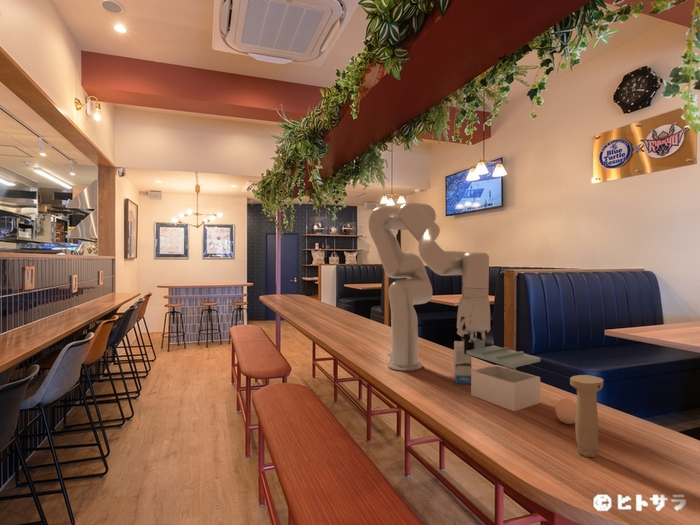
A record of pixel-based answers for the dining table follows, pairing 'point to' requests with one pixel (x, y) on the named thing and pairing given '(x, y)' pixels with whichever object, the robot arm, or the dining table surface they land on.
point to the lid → (500, 355)
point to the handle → (586, 413)
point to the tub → (505, 387)
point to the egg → (566, 411)
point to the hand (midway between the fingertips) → (473, 353)
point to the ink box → (461, 364)
